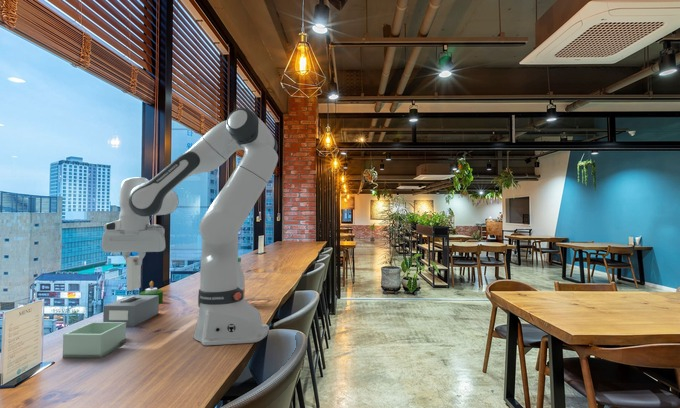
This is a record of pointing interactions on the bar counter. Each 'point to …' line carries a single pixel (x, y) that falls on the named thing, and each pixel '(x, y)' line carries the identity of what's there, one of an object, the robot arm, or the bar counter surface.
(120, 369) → the bar counter surface
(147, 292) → the candle
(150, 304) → the block
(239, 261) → the milk bottle
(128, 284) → the pale bar
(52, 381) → the bar counter surface
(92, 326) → the stub box
